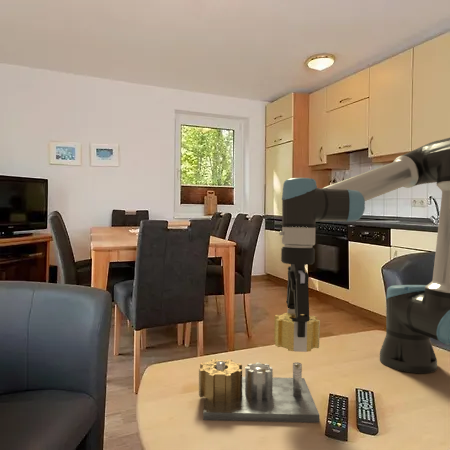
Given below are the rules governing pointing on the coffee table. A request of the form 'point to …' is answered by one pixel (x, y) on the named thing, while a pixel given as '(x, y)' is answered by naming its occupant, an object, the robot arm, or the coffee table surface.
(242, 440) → the coffee table surface
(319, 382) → the coffee table surface
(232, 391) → the seated gear
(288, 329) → the gear
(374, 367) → the coffee table surface
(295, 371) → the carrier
